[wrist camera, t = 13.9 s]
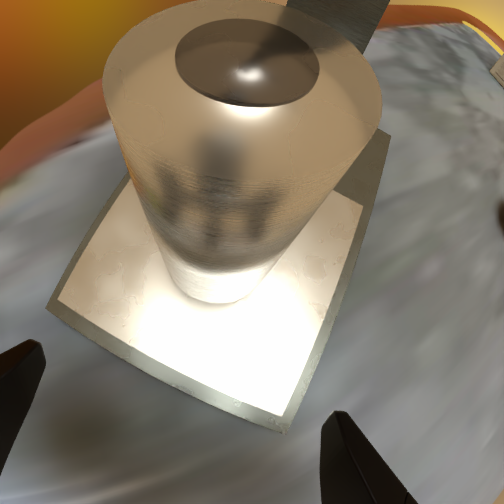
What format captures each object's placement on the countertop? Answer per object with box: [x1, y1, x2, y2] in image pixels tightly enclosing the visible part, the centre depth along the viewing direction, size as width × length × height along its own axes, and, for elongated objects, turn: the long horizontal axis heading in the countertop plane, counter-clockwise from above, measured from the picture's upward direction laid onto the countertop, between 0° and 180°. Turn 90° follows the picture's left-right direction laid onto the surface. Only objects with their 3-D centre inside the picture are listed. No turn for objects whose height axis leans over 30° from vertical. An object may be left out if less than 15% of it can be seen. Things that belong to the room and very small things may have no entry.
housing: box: [102, 0, 382, 303], centre depth 12 cm, size 6×6×13 cm
